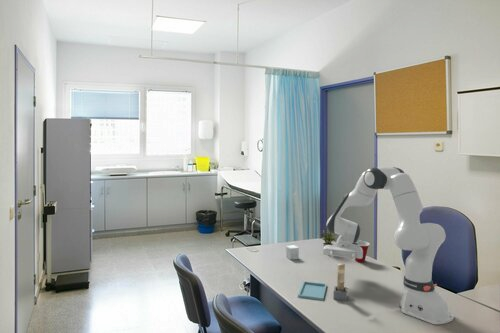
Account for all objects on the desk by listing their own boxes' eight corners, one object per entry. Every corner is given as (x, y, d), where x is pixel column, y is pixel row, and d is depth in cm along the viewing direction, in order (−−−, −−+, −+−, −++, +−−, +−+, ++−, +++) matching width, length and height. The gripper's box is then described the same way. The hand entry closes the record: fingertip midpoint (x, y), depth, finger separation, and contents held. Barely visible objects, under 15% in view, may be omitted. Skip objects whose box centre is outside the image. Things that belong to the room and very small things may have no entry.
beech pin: (345, 297, 184) (346, 265, 183) (340, 299, 183) (341, 266, 181) (340, 295, 187) (341, 263, 186) (335, 296, 186) (336, 264, 184)
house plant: (339, 258, 246) (340, 233, 244) (317, 256, 249) (318, 231, 247) (339, 251, 260) (340, 227, 258) (318, 249, 263) (319, 226, 261)
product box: (298, 258, 244) (299, 247, 243) (290, 259, 242) (290, 248, 241) (294, 255, 250) (294, 244, 249) (285, 256, 247) (286, 245, 247)
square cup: (346, 297, 187) (347, 287, 187) (346, 302, 181) (346, 292, 181) (334, 296, 189) (334, 286, 188) (333, 301, 183) (333, 290, 183)
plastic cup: (370, 264, 235) (370, 245, 233) (351, 263, 237) (352, 243, 236) (368, 258, 245) (369, 240, 244) (350, 257, 247) (351, 239, 246)
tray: (303, 284, 202) (303, 281, 202) (326, 287, 199) (326, 283, 199) (297, 299, 185) (297, 295, 185) (323, 302, 182) (323, 298, 181)
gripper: (324, 240, 211) (321, 248, 198) (363, 244, 205) (363, 252, 192) (323, 251, 212) (321, 260, 199) (362, 256, 206) (362, 264, 193)
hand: (342, 256), depth 195 cm, fingers open, 8 cm apart
